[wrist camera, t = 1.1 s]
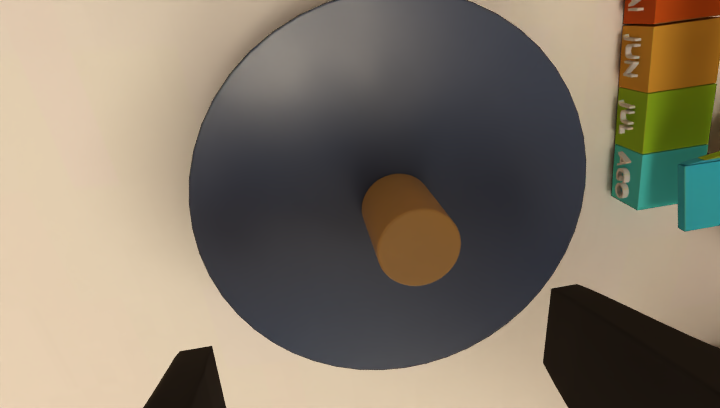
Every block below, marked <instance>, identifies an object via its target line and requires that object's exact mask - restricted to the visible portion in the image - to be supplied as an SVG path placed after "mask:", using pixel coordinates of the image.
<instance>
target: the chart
mask: <svg viewBox="0 0 720 408" xmlns="http://www.w3.org/2000/svg"><path fill="white" fill-rule="evenodd" d="M718 15H720V0H625V5H624V19H623V23H624V24H633V25H626V26H623V32H622V46H621V60H620V74H619V93H618V106H617V120H616V134H615V153H614V166H613V180H612V194H611V196H613V197H615V198H616V199H618V200H620V201H622V202H623V203H625V204H627V205H629V206H631V207H632V208H634V209H636V210H643V209H648V208H654V207H660V206H666V205H672V204H678V228H679V229H681V230H683V231H690V230H696V229H702V228H708V227H714V226H719V225H720V151H718V152H715V153H711V154H708V155H707V151H708V145H707V144H708V141H709V134H710V127H711V120H712V113H713V106H714V99H715V92H716V85H717V84H715V83H716V81H717V74H718V67H719V61H720V17H711V16H718Z"/></svg>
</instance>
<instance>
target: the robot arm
mask: <svg viewBox="0 0 720 408" xmlns="http://www.w3.org/2000/svg"><path fill="white" fill-rule="evenodd" d="M543 363H544V365H545V367H546V369H547V371H548V373H549V375H550V377H551V378H552V380H553V382H554V384H555V386H556V388H557V389H558V391H559V393H560V394H561V396H562V398H563V400H564V401H565V403H566V405H567V406H568V408H720V349H719V348H717V347H714V346H712V345H710V344H707V343H705V342H703V341H701V340H698V339H696V338H694V337H692V336H689V335H687V334H685V333H683V332H681V331H678V330H676V329H674V328H672V327H670V326H668V325H665V324H663V323H661V322H659V321H657V320H655V319H653V318H651V317H648V316H646V315H644V314H642V313H640V312H638V311H636V310H634V309H632V308H630V307H627V306H625V305H623V304H621V303H619V302H617V301H615V300H613V299H610V298H608V297H606V296H604V295H602V294H600V293H597V292H595V291H593V290H590V289H588V288H586V287H583V286H581V285H578V284H576V285H570V286H564V287H558V288H552V289H551V297H550V305H549V314H548V323H547V332H546V341H545V350H544V359H543ZM143 408H226V405H225V401H224V397H223V392H222V388H221V384H220V379H219V375H218V371H217V366H216V362H215V357H214V353H213V349H212V346H209V347H203V348H197V349H191V350H185V351H180V352H179V353H178V354H177V355H176V357H175V358H174V360H173V361H172V363H171V365H170V366H169V368H168V369H167V371H166V373H165V374H164V376H163V378H162V379H161V381H160V382H159V384H158V386H157V387H156V389H155V390H154V392H153V393H152V395H151V397H150V398H149V400H148V401H147V403H146V404H145V406H144V407H143Z"/></svg>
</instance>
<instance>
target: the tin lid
mask: <svg viewBox="0 0 720 408" xmlns="http://www.w3.org/2000/svg"><path fill="white" fill-rule="evenodd" d="M585 178H586V155H585V145H584V136H583V132H582V128H581V124H580V120H579V116H578V112H577V110H576V107H575V105H574V102H573V100H572V97H571V95H570V92H569V90H568V88H567V86H566V84H565V83H564V81H563V79H562V77H561V76H560V74H559V72H558V71H557V69H556V67H555V66H554V65H553V63H552V62H551V61H550V60H549V58H548V57H547V56H546V55H545V53H544V52H543V51H542V50H541V48H540V47H539V46H538V45H537V44H535V43H534V42H533V41H532V40H531V39H530V38H529V37H528V36H527V35H526V34H525V33H524V32H522V31H521V30H520V29H519V28H517V27H516V26H514V25H513V24H512V23H510V22H509V21H507V20H506V19H504V18H503V17H501V16H500V15H498V14H496V13H494V12H492V11H490V10H488V9H486V8H484V7H482V6H480V5H477V4H475V3H473V2H471V1H467V0H333V1H330V2H326V3H324V4H322V5H320V6H317V7H315V8H313V9H311V10H309V11H306V12H304V13H302V14H300V15H298V16H296V17H295V18H293V19H292V20H290V21H288V22H287V23H285V24H284V25H282V26H281V27H279V28H277V29H276V30H274V31H273V32H272V33H271V34H269V35H268V36H267V37H266V38H265V39H263V40H262V41H261V42H260V43H259V44H258V45H256V46H255V47H254V48H253V49H252V50H251V51H250V52H249V53H248V54H247V55H246V56H245V57H244V58H243V59H242V61H241V62H240V63H239V64H238V65H237V66H236V67H235V69H234V70H233V71H232V72H231V73H230V74H229V76H228V77H227V79H226V80H225V82H224V83H223V85H222V86H221V88H220V89H219V91H218V93H217V94H216V96H215V97H214V99H213V101H212V103H211V105H210V107H209V109H208V111H207V114H206V116H205V118H204V120H203V122H202V124H201V127H200V131H199V134H198V137H197V140H196V144H195V147H194V150H193V156H192V163H191V169H190V176H189V208H190V215H191V222H192V230H193V233H194V237H195V240H196V243H197V247H198V250H199V254H200V256H201V258H202V260H203V263H204V265H205V267H206V269H207V271H208V274H209V276H210V277H211V279H212V281H213V282H214V284H215V285H216V287H217V288H218V290H219V292H220V293H221V295H222V296H223V298H224V299H225V300H226V301H227V302H228V303H229V305H230V306H231V307H232V308H233V309H234V311H235V312H236V313H237V314H238V315H239V316H240V317H241V318H242V319H243V320H245V321H246V322H247V323H248V324H249V325H250V326H251V327H252V328H253V329H254V330H256V331H257V332H259V333H260V334H262V335H263V336H264V337H266V338H267V339H269V340H270V341H272V342H273V343H275V344H277V345H279V346H281V347H283V348H284V349H286V350H288V351H290V352H292V353H294V354H297V355H299V356H302V357H305V358H307V359H310V360H313V361H316V362H320V363H324V364H328V365H332V366H336V367H343V368H351V369H358V370H387V369H398V368H406V367H411V366H416V365H421V364H426V363H429V362H433V361H436V360H439V359H442V358H445V357H448V356H451V355H453V354H455V353H458V352H460V351H462V350H465V349H467V348H469V347H471V346H473V345H475V344H476V343H478V342H480V341H482V340H483V339H485V338H487V337H489V336H490V335H492V334H493V333H494V332H496V331H497V330H499V329H500V328H501V327H503V326H504V325H506V324H507V323H508V322H509V321H511V320H512V319H513V318H514V317H515V316H516V315H517V314H519V313H520V312H521V311H522V310H523V309H524V308H525V307H526V306H527V305H528V304H529V303H530V302H531V301H532V300H533V299H534V297H535V296H536V295H537V294H538V293H539V292H540V291H541V289H542V288H543V287H544V285H545V284H546V283H547V281H548V280H549V279H550V277H551V276H552V274H553V273H554V272H555V270H556V268H557V266H558V265H559V263H560V261H561V259H562V258H563V256H564V254H565V252H566V250H567V248H568V245H569V243H570V241H571V238H572V236H573V234H574V232H575V228H576V225H577V222H578V218H579V215H580V211H581V208H582V202H583V196H584V190H585Z"/></svg>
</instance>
